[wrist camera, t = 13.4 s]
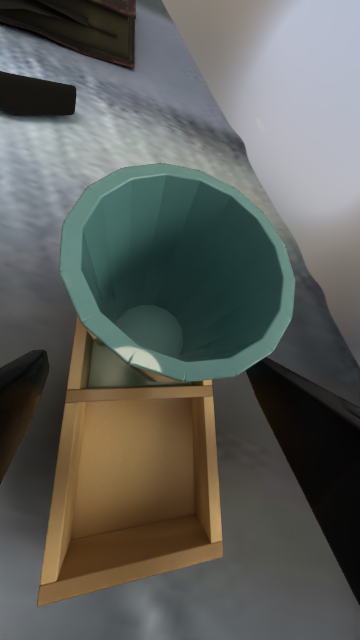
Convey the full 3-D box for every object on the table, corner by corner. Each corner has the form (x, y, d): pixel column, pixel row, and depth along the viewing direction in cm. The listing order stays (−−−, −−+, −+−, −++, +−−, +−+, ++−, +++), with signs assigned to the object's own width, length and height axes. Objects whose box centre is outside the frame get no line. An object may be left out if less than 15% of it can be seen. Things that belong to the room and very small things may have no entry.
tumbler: (151, 398, 17) (220, 446, 5) (87, 342, 17) (-14, 240, 4) (200, 336, 19) (323, 264, 7) (145, 288, 19) (178, 135, 7)
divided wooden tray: (202, 519, 16) (223, 557, 12) (58, 550, 13) (35, 608, 10) (193, 293, 21) (205, 277, 18) (91, 283, 19) (84, 262, 16)
